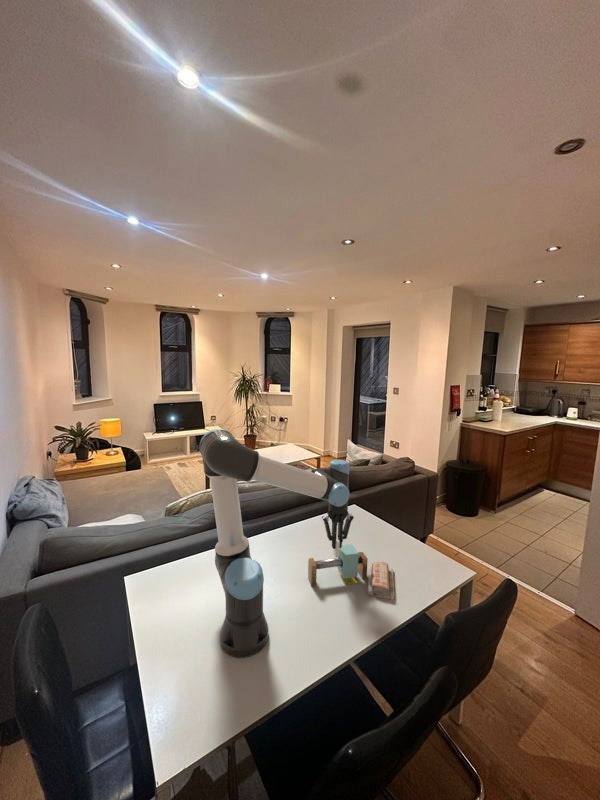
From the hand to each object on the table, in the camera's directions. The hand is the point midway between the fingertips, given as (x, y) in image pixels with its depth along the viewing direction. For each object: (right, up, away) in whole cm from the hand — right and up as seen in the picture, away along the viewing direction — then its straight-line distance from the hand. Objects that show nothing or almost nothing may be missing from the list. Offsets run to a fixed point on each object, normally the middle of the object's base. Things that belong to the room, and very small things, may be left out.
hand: (336, 555), depth 132 cm
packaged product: (+18, -11, 0) cm, 21 cm away
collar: (+5, -8, +2) cm, 9 cm away
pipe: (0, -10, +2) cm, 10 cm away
